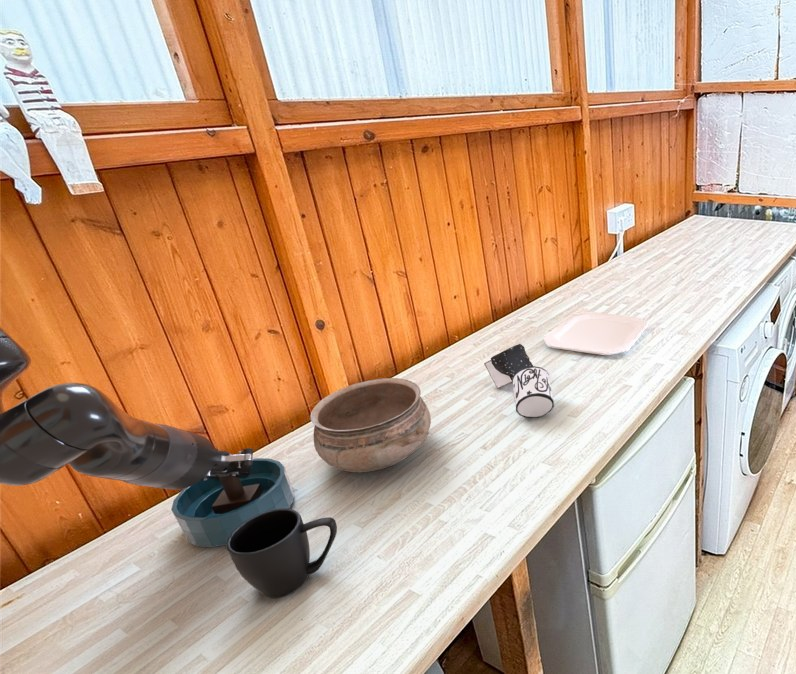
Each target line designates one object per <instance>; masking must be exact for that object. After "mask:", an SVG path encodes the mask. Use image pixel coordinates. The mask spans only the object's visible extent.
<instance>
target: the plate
mask: <svg viewBox="0 0 796 674" xmlns="http://www.w3.org/2000/svg"><path fill="white" fill-rule="evenodd" d="M648 327H649V323H648V322H647V321H645V320H644V319H643V318H641V317H640V316H633V315H632V316H631V315H622V314H615V313H605V312H597V311H588V310H587V311H581V312H576V313H571V314H569V316H567V317H566V318H564V320H562V321H561V322H560V323H559V324H558V325H556V326H555V327H554V328H552V329H551V330H550V331H549V332H547V334H545V335H544V336H543V337H542V340H543V342H544V343H545V345H546V346H547V347H549V348H553V349H558V350H565V351H571V352H577V353H583V354H584V353H586V354H592V355H600V356H612V355H617V354H622V353H626V352H628V351H630V349H631V348H632V347H633V346H634V345H635V343H636V342H637V341H638V339H639V338H640V337H641V336H642V335H643V333H644V332H645V331H646V329H648Z"/></svg>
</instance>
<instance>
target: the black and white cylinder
mask: <svg viewBox="0 0 796 674" xmlns="http://www.w3.org/2000/svg"><path fill="white" fill-rule="evenodd" d="M483 364H484V366H485V368H486V370H487V372H488V374H489V376H490V377H491V379H492V381H493V383H494V384H495V387H496V389H501V388H503V387H505V386H508V385H510V384H512V388H513V397H514V404H515V405H514V406H515V411H516V414H517V415H519V416H520V417H522V418H526V419H537V418H538V419H539V418H542V417H544V416H546V415H547V414H549V413H551V411H552V410H553V408H554V406H555V405H554V404H555V402H554V397H553V391H552V386H551V379H550V374H549V373H548V370H546V369H544V368H543V367H540V366H534V364H533V363H532V361H531V360H530V356H529V355H528V354H527V352H526V348H525V346H524V345H523V344H521V343H518V344H515V345H513V346H510V347H509V348H507V349H505V350H503V351H501V352H498V353H497V354H495V355H492V357H490V360H487V361H486V362H484V363H483Z"/></svg>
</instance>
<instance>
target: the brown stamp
mask: <svg viewBox="0 0 796 674" xmlns="http://www.w3.org/2000/svg"><path fill="white" fill-rule="evenodd" d="M219 480H220V482H221V484H222V486H223V488H224V490H223V491H222V492H221V494H220V495H219V497H218V498H217V499H216V501H215V502H214V504H213V505H212V509H213V511H214V513H215V514H223V513H226V512H229V511H232V510H236V509H238V508H240V507H242V506H244V505H246V504H248V503H251V502H253V501H254V500H256V499H257V498H259V497H260V495H261V494H262V492H263V490H262V487H261V485H260V484H255V485H248V486H242V483H241V481H240V479H239V477H235V476H226V477H220V478H219Z"/></svg>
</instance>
